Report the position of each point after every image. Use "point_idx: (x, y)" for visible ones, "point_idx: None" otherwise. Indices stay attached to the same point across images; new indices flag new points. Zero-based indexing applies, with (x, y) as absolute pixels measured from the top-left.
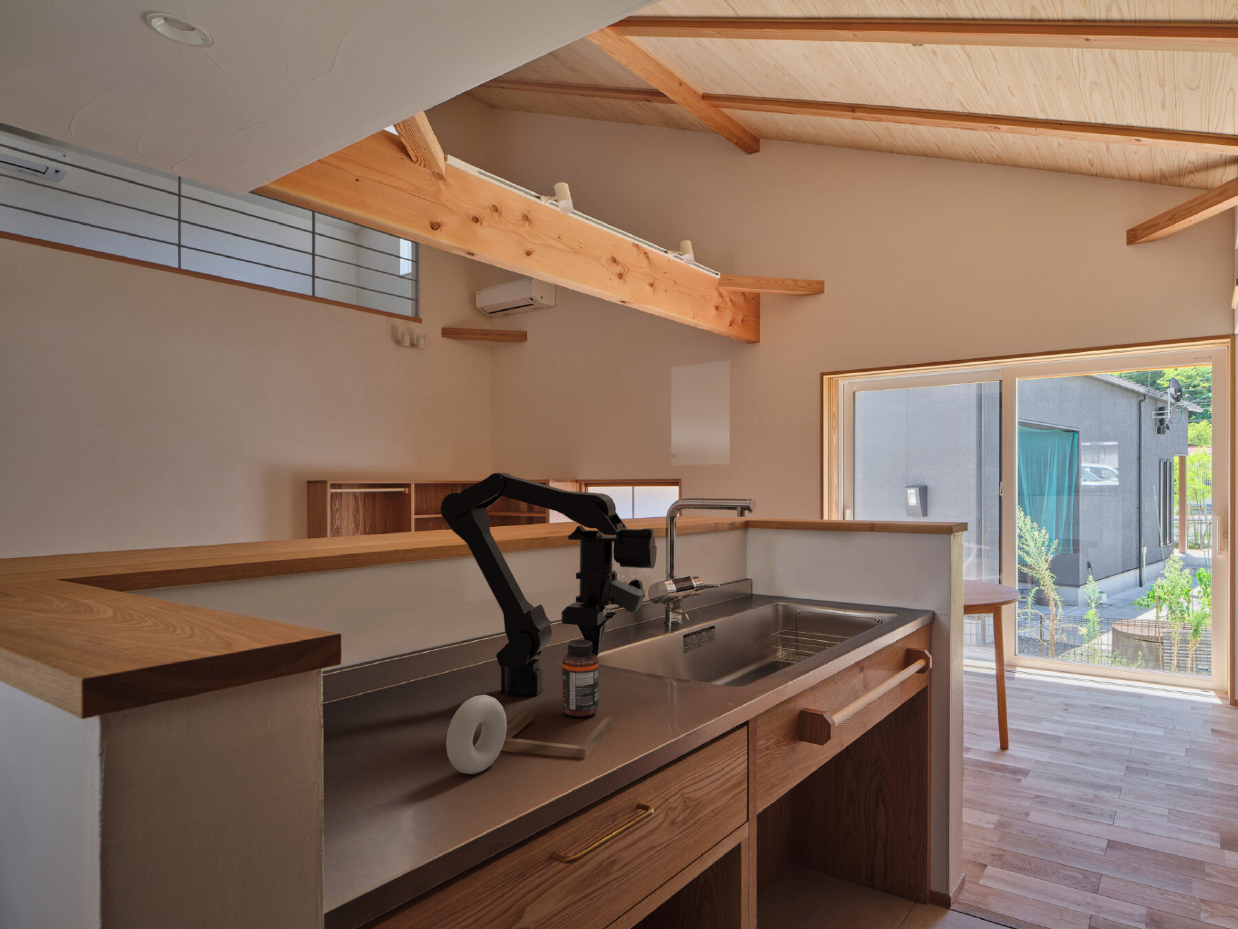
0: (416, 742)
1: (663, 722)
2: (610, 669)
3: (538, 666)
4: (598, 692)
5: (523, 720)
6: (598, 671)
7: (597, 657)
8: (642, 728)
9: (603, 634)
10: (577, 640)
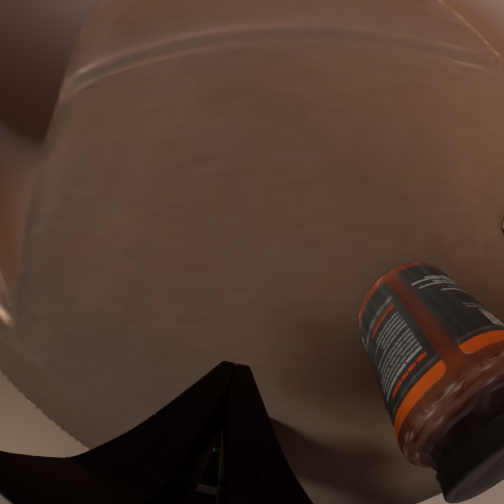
0: None
1: (444, 71)
2: (28, 260)
3: (216, 460)
4: (433, 281)
5: None
6: (473, 318)
7: (494, 361)
8: (487, 132)
9: (170, 428)
10: (462, 494)
